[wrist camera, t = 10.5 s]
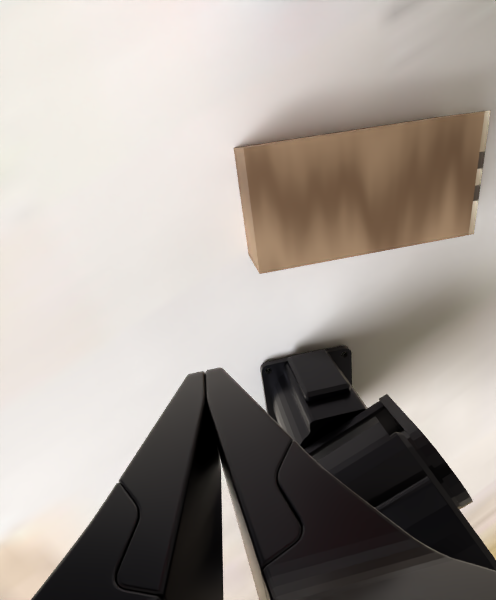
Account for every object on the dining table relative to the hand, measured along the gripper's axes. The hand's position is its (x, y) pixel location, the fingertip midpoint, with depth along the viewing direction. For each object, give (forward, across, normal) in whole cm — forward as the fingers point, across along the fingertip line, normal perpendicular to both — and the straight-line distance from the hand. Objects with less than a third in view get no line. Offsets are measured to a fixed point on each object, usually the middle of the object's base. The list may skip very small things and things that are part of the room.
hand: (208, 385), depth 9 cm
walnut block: (+11, -15, -2) cm, 19 cm away
